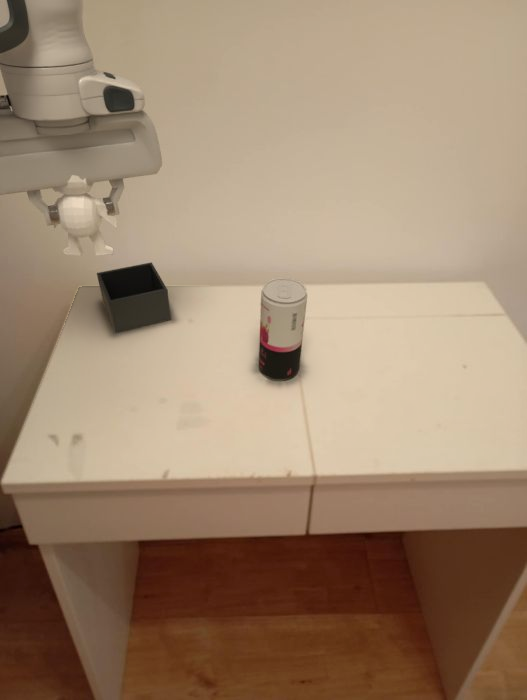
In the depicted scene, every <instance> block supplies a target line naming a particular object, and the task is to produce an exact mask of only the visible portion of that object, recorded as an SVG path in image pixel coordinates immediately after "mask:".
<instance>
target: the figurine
mask: <svg viewBox="0 0 527 700" xmlns="http://www.w3.org/2000/svg"><path fill="white" fill-rule="evenodd" d="M67 183H68V185H67V186H64V187H56V188H52V191H54V192H57V193H59V194H62V196H61V197H58V198H57V199H56V201H55V203H54V204H53V205H55V206H56V210H57V213H58V217H59V220H60V224H61V227H62V229H63V230H65V231H66V232H67V239H68V240H67V241H68V242H67V245H68V246H66V247H65V248H63V251H62V252H63V254H64V256H66V255H69V256H82V255H83V253H84V250H83V247H82V246H81V242H80V239H83V238H87V237H88V238H89V239H90V240H91V242H92V244H93V246H94V256H96V257H97V256H106V255H113V254H114V248H113V247H111V246H109V245H107V244H106V241H105V239H104V237H103V234H102V232H101V231H100V229H99V228H100V226H101V225H102V220H103V219H104V220H105V221H107V222H108V223H109V224H110V225H112V226H113V227H115V228H116V229H117V228H118V219H117V218H116V215H107V209H106V206H105V204H104V203H103V199H101V198H98V197H94V196H91V195H90V193H89V192H90V191H91V189H92V187H93V186H94V184H95V182H94V183H87V181H86V178H85V179H84V180H82V179H80V177H79V176H76V175H72V176H71V178H70V180H69V181H68V182H67ZM58 225H59V224H55V225H53V227H54V228H53V229H56V228H57V226H58Z"/></svg>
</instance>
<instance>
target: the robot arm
mask: <svg viewBox="0 0 527 700" xmlns="http://www.w3.org/2000/svg"><path fill="white" fill-rule="evenodd" d="M83 1H84V0H0V74H1V77H2V80H3V84H4V86H5V90H6V93H7V94H2V95H1V94H0V196H5V195H11V194H18V193H25V192H26V194H27V197H28V200H29V202H30V203H31V204H33V206H34V207H35V208H37V209H38V210H39V211H40V212H41V213H42V214H43V216H44V219H45V222H46V226H47V227H48V226H49V227H50V226H54V225H55V224H58V225H60V224H61V222H60V220H59V217H58V213H57V210H56V206H55V205H54V204H53V205H48V204H47V203H46V202H45V201H44V200H43V196H42V192H41V190H47V189H53V188H56V187H64V186H67V185H68V183H67V182H68V181H69V180H70V178H71V176H72V175H76V176H79V177H80V179H82V180H84V179H85V178H86V181H87V183H94V184H95V183H99V182H100V183H101V182H107V181H108V182H109V184H110V186H111V187H112V188H111V189H110V193H109V195H108V196H106V197H102V201H103V203H104V204H105V206H106V209H107V215H114V216H117V215H120V209H119V203H118V202H120V201H119V200H120V199H121V196H122V194H123V191H124V189H125V183H124V179H130V178H138V177H144V176H145V177H146V176H153V175H157V174H158V173H159V172H160V169H162V166H163V158H162V151H161V147H160V142H159V138H158V134H157V130H156V127H155V124H154V122H153V120H152V119H151V117H150V115H148V114H147V113H146V111H145V110H144V109H145V103H146V102H145V101H146V100H145V95H144V93H143V90H142V88H140V87H139V85H137V84H136V83H135V82H134V81H133V80H131V79H129V78H127V77H124V76H121V75H118V74H114V73H110V72H106V71H103V70H100V69H96V68H95V62H94V58H93V53H92V50H91V47H90V45H89V43H88V41H87V38H86V34H85V30H84V23H83V20H84V19H83V16H84V2H83Z"/></svg>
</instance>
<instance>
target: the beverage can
mask: <svg viewBox="0 0 527 700" xmlns="http://www.w3.org/2000/svg"><path fill="white" fill-rule="evenodd" d="M307 301H308V292H307V287H306V286H305V285H304V284H303V283H302V282H300V281H299V280H296V279H293V278H289V277H278V278H273V279H270V280H268V281H266V282H265V283H264V284H263V286H262V290H261V292H260V319H259V346H258V347H259V348H258V369H259V371H260V373H261V374H262V375H263V376H265V377H267V378H269V379H271V380H274V381H285V380H290V379H291V378H293V377H295V376H296V375H297V374H298V373H299V371H300V365H301V355H302V346H303V340H304V329H305V322H306V312H307V303H308V302H307Z"/></svg>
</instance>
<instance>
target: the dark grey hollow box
mask: <svg viewBox="0 0 527 700" xmlns="http://www.w3.org/2000/svg"><path fill="white" fill-rule="evenodd" d="M96 276H97V282H98V285H99V291H100V294H101V299H102V304H103V306H104V308H105V311H106V313H107V317H108V319H109V321H110V324H111V327H112V329H113V332H114V334H118V333H122V332H127V331H131V330H134V329H138V328H142V327H146V326H147V327H148V326H151V325H154V324H159V323H163V322H167V321H171V320H172V318H171V307H170V300H169V291H168V288H167V286H166V284H165V282H164V281H163V279H162V277H161V276H160V274H159V272H158V270H157V269H156V267H155V265H154V263H153V262H146V263H142V264H141V263H140V264H136V265H132V266H125V267H120V268H116V269H110V270H105V271H100V272H96Z"/></svg>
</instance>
